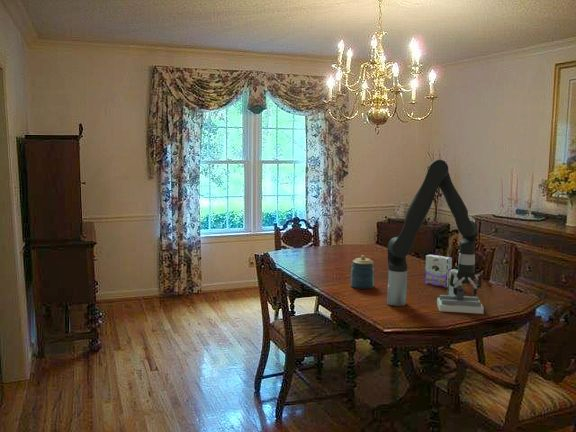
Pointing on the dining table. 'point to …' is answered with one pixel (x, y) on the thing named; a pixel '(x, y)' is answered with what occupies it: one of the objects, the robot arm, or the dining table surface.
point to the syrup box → (450, 288)
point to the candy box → (437, 270)
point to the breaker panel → (459, 308)
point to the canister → (362, 273)
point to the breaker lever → (459, 293)
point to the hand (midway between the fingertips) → (464, 295)
